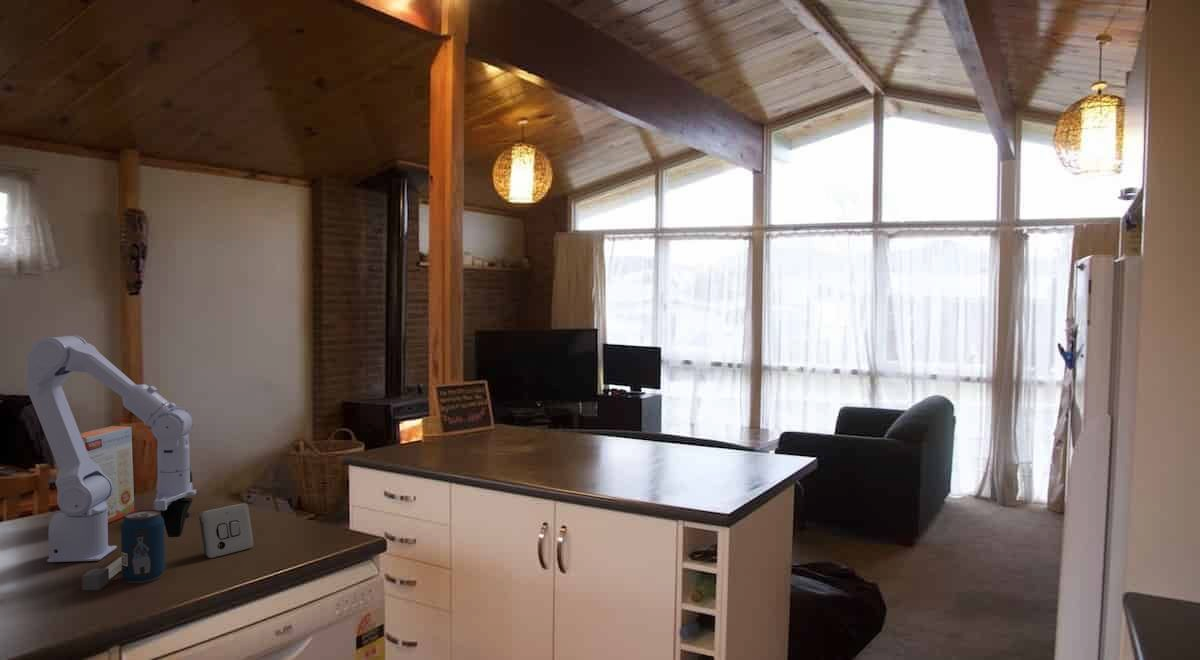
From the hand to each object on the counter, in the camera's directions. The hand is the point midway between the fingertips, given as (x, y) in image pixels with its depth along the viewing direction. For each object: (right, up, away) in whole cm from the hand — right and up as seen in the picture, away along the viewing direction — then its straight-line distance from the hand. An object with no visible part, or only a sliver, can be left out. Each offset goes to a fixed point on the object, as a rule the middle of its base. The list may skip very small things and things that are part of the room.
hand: (174, 536), depth 160 cm
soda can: (+2, -4, -13) cm, 14 cm away
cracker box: (-28, -2, +20) cm, 34 cm away
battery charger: (-12, -2, +27) cm, 29 cm away
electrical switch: (+9, -4, +2) cm, 10 cm away
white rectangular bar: (-6, -4, -8) cm, 11 cm away
